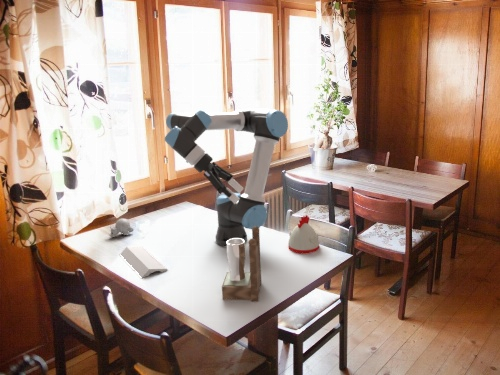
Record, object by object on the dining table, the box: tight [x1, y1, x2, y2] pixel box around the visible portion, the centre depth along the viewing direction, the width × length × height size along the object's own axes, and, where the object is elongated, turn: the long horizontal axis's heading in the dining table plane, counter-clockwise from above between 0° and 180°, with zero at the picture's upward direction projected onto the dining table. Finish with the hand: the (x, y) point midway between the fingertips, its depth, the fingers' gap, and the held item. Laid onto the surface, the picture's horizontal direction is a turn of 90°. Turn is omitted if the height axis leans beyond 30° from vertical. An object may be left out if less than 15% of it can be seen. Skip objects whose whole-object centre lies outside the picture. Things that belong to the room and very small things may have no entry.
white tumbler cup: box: [226, 238, 247, 282], centre depth 175 cm, size 7×7×15 cm
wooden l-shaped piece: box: [221, 226, 262, 303], centre depth 175 cm, size 13×15×24 cm
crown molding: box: [120, 246, 169, 278], centre depth 207 cm, size 29×12×4 cm, turn 32°
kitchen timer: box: [287, 214, 320, 255], centre depth 214 cm, size 14×14×15 cm
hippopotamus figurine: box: [108, 218, 135, 238], centre depth 239 cm, size 7×12×8 cm, turn 125°
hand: (239, 195), depth 186 cm, fingers open, 13 cm apart
